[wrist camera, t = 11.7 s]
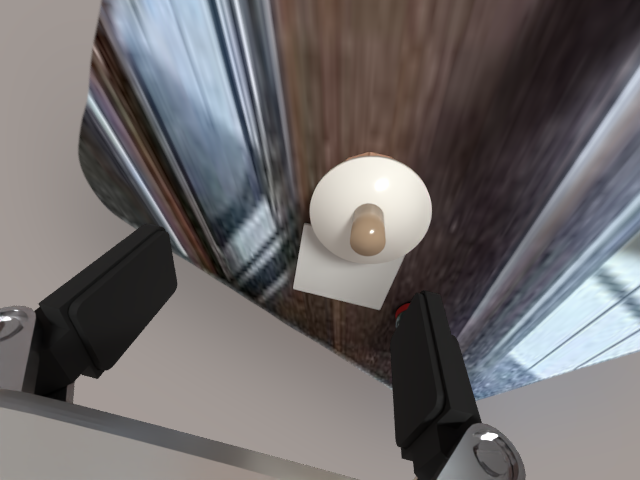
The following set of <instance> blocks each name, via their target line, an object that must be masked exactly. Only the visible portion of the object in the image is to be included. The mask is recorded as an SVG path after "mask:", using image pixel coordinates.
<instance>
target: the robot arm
mask: <svg viewBox="0 0 640 480" xmlns="http://www.w3.org/2000/svg"><path fill="white" fill-rule="evenodd" d="M176 288H177V279H176V273H175V268H174V261H173V256H172V249H171V243H170V238H169V234H168V232H166V231H165V229H164V228H163V227H160V226H156V225H152V224H144V225H142V226H141V227H140V228H138V229H137V230H136V231H134V232H133V233H132V234H131V235H129V236H128V237H126V238H125V239H124V240H122V241H121V242H120V243H118V244H117V245H116V246H115V247H113V248H112V249H110V250H109V251H108V252H106V253H105V254H104V255H102V256H101V257H100V258H98V259H97V260H96V261H94V262H93V263H92V264H90V265H89V266H88V267H86V268H85V269H84V270H82V271H81V272H80V273H78V274H77V275H76V276H75V277H73V278H72V279H71V280H69V281H68V282H67V283H65V284H64V285H63V286H61V287H60V288H58V289H57V290H56V291H54V292H53V293H52V294H50V295H49V296H48V297H46V298H45V299H44V300H42V301H41V302H40V303H39V305H40V307H39V308H38V309H37V310H35V311H33V310H32V309H31V308H28V307H26V306H11V307H4V308H1V309H0V480H358V479H355V478H351V477H348V476H344V475H341V474H337V473H333V472H330V471H326V470H322V469H318V468H315V467H311V466H308V465H304V464H300V463H296V462H293V461H289V460H285V459H282V458H278V457H274V456H270V455H267V454H263V453H259V452H255V451H252V450H248V449H244V448H240V447H237V446H233V445H229V444H225V443H222V442H218V441H214V440H210V439H207V438H203V437H199V436H195V435H191V434H188V433H184V432H180V431H176V430H172V429H168V428H165V427H161V426H157V425H153V424H150V423H146V422H142V421H138V420H134V419H130V418H126V417H122V416H119V415H115V414H111V413H107V412H103V411H100V410H96V409H91V408H88V407H84V406H80V405H76V404H73V396H74V381H75V380H76V379H77V378H78V377H79V376H80V374H82V375H85V376H89V377H92V378H96V379H98V378H99V377H100V376H101V374H102V373H103V372H104V371H105V370H109V369H110V368H112V367H113V365H114V364H115V363H116V362H117V361H118V360H119V358H120V357H121V356H122V355H123V354H124V352H125V351H126V350H127V349H128V348H129V346H130V345H131V344H132V343H133V342H134V340H135V339H136V338H137V337H138V335H139V334H140V333H141V332H142V330H143V329H144V328H145V327H146V326H147V325H148V323H149V322H150V321H151V320H152V319H153V317H154V316H155V315H156V314H157V313H158V311H159V310H160V309H161V308H162V306H163V305H164V304H165V303H166V302H167V301H168V299H169V298H170V297H171V296H172V294H173V293H174V292H175V290H176ZM390 350H391V368H392V385H393V402H394V419H395V438H396V444H397V446H398V447H401V454H402V458H403V459H406V460H410V461H413V464H414V473H415V475H416V477H415V478H414V480H525V476H526V474H525V469H524V464H523V462H522V459H521V457H520V455H519V453H518V452H517V450H516V448H515V447H514V445H513V444H512V443H511V442H510V441H509V439H508V438H507V437H506V436H505V435H503V434H502V433H501V432H500V431H499V430H497V429H496V428H494V427H492V426H490V425H488V424H483V423H482V422H481V419H480V415H479V412H478V408H477V405H476V402H475V398H474V395H473V391H472V388H471V384H470V381H469V378H468V374H467V371H466V367H465V364H464V360H463V357H462V354H461V350H460V347H459V343H458V341H457V339H456V337H455V336H453V335H451V332H450V328H449V325H448V321H447V317H446V314H445V310H444V306H443V303H442V299H441V296H440V295H439V294H436V293H432V292H428V291H421V293H420V294H419V293H416V294H415V295H414V297H413V299H412V301H411V302H410V304H409V306H408V308H407V310H406V312H405V314H404V315H403V317H402V319H401V321H400V323H399V325H398V326H397V328H396V330H395V332H394V334H393V336H392V338H391V343H390Z"/></svg>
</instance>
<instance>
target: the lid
mask: <svg viewBox="0 0 640 480" xmlns="http://www.w3.org/2000/svg"><path fill="white" fill-rule="evenodd" d="M431 216H432V205H431V200H430V196H429V193H428V191H427V188H426V186H425V184H424V183H423V181H422V179H421V178H420V177H419V176H418V175H417V173H415V172H414V171H413V170H412V169H411V168H410V167H408V166H406V165H405V164H403V163H401V162H399V161H397V160H395V159H391V158H388V157H383V156H360V157H356V158H352V159H349V160H346V161H344V162H342V163H340V164H338V165H336V166H335V167H333V168H332V169H331V170H329V171H328V172H327V173H326V174H325V175H324V176H323V178H322V179H321V180H320V181H319V183H318V185H317V186H316V188H315V191H314V193H313V196H312V199H311V203H310V220H311V225H312V228H313V230H314V232H315V234H316V236H317V238H318V239H319V241H320V242H321V243H322V244H323V245H324V246H325V247H326V248H327V249H328V250H329V251H331V252H332V253H333V254H335V255H337V256H339V257H340V258H343V259H345V260H348V261H351V262H355V263H360V264H379V263H385V262H389V261H392V260H395V259H397V258H400V257H402V256H404V255H405V254H407V253H408V252H410V251H411V250H412V249H414V248H415V247H416V246H417V245H418V244H419V243H420V241H421V240H422V239H423V237H424V236H425V234H426V232H427V230H428V228H429V225H430V221H431Z"/></svg>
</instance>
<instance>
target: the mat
mask: <svg viewBox="0 0 640 480" xmlns="http://www.w3.org/2000/svg"><path fill="white" fill-rule="evenodd" d="M404 256H405V255H404ZM404 256H402V257H400V258H397V259H395V260H392V261H389V262H385V263H379V264H360V263H355V262H351V261H348V260H345V259H343V258H340V257H339V256H337V255H335V254H333V253H332V252H331V251H329V250H328V249H327V248H326V247H325V246H324V245H323V244H322V243H321V242H320V241H319V239H318V238H317V236H316V234H315V232H314V230H313V228H312V225H311V224H308V223H304V227H303V233H302V239H301V245H300V251H299V257H298V262H297V268H296V274H295V280H294V286H293V289H296V290H300V291H304V292H308V293H312V294H316V295H320V296H324V297H328V298H332V299H336V300H340V301H344V302H348V303H353V304H357V305H361V306H365V307H369V308H373V309H377V310H380V309H381V307H382V304H383V302H384V300H385V298H386V296H387V293H388V291H389V289H390V287H391V285H392V282H393V280H394V278H395V276H396V274H397V272H398V269H399V267H400V265H401V263H402V261H403V258H404Z"/></svg>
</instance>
